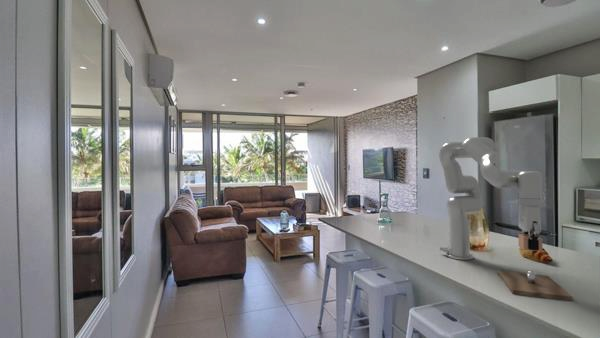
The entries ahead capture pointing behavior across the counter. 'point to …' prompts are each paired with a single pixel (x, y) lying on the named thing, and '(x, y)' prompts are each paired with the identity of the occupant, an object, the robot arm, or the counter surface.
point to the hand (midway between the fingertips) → (530, 247)
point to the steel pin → (531, 277)
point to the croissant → (536, 255)
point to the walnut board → (534, 286)
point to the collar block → (524, 241)
